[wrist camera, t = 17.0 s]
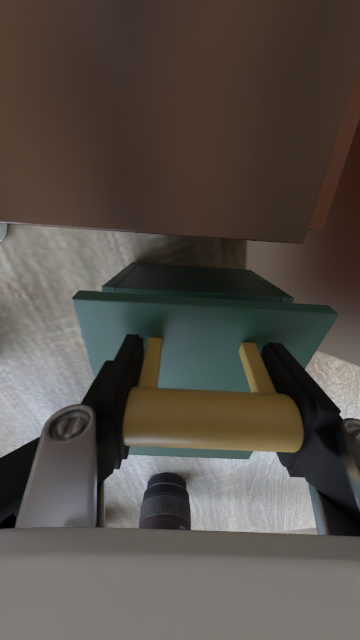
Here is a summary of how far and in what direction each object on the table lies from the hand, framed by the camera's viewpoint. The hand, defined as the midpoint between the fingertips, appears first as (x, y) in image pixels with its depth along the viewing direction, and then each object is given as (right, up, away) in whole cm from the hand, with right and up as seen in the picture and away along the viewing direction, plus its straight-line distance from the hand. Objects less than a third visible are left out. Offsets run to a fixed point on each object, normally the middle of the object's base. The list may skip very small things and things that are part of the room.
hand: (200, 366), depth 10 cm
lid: (0, -3, +4) cm, 5 cm away
